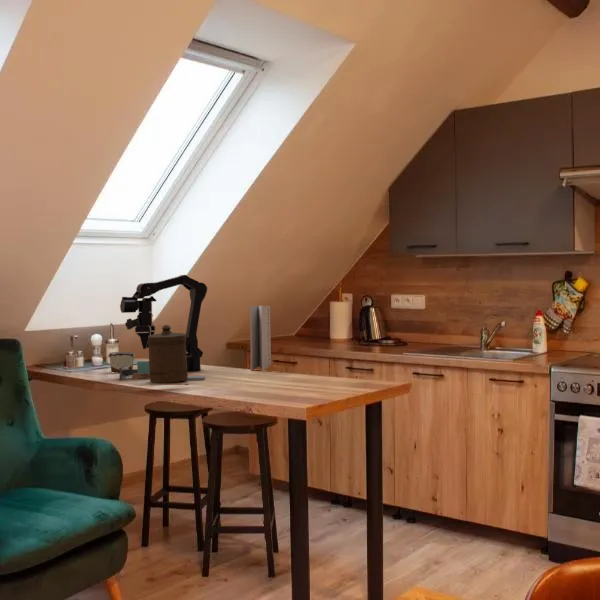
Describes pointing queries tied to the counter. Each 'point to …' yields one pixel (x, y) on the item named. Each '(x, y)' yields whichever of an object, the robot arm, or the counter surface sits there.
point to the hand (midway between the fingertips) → (146, 348)
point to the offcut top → (141, 375)
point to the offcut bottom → (139, 378)
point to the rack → (126, 372)
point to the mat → (195, 378)
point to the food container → (121, 360)
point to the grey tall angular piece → (260, 337)
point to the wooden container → (167, 357)
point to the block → (143, 367)
